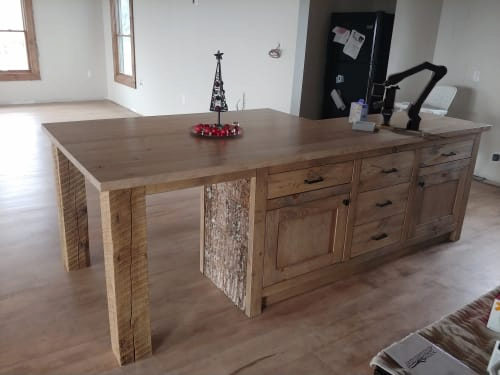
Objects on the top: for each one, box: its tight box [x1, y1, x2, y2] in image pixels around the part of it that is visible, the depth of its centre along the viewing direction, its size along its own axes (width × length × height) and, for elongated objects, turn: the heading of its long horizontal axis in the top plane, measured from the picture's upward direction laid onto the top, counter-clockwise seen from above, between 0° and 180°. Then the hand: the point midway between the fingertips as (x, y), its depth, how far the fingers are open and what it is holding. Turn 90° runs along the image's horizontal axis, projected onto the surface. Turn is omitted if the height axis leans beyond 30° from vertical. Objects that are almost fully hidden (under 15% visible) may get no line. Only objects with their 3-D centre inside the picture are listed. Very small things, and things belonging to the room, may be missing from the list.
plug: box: [381, 115, 393, 127], centre depth 259 cm, size 5×5×7 cm
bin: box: [351, 121, 377, 134], centre depth 253 cm, size 11×11×4 cm
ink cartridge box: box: [348, 98, 369, 124], centre depth 270 cm, size 10×6×14 cm, turn 29°
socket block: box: [375, 122, 396, 131], centre depth 260 cm, size 10×10×2 cm
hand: (385, 124), depth 259 cm, fingers open, 9 cm apart
